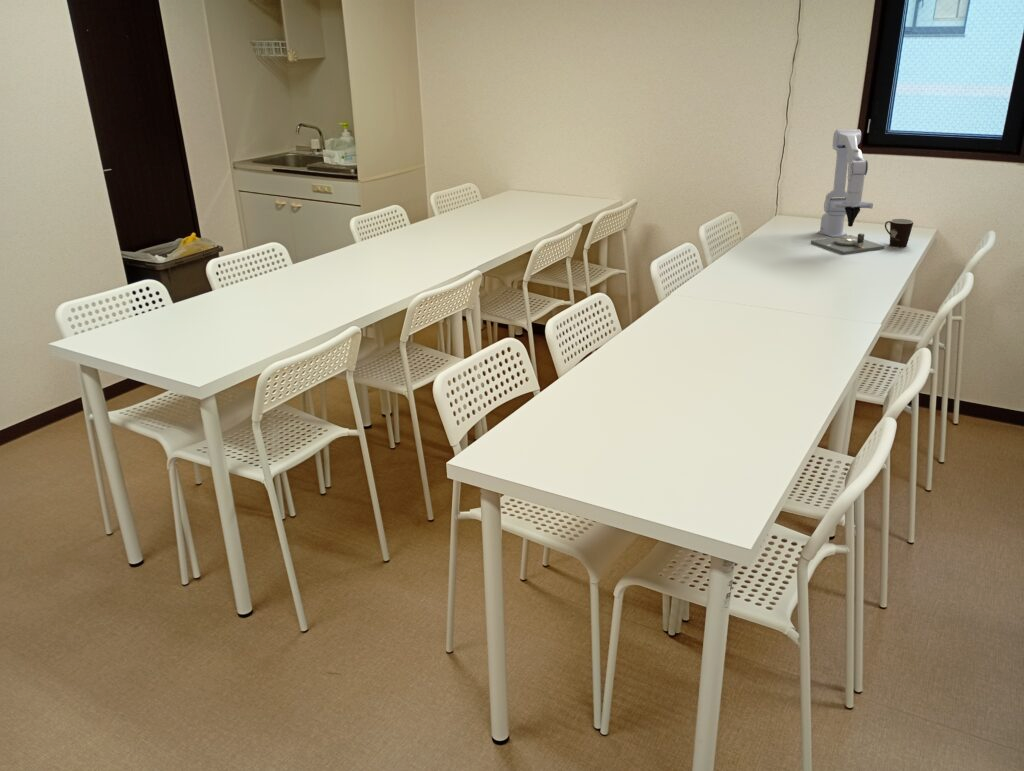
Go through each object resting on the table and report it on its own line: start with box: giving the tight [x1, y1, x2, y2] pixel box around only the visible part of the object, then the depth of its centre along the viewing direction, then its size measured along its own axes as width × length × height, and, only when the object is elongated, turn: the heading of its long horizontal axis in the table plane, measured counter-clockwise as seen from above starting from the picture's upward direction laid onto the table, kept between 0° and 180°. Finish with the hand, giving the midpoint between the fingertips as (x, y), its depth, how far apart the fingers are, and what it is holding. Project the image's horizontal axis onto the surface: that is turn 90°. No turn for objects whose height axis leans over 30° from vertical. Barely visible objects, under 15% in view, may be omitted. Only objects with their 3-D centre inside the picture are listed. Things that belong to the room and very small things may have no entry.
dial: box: [834, 233, 865, 246], centre depth 338 cm, size 13×10×5 cm
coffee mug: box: [884, 218, 915, 248], centre depth 338 cm, size 12×9×10 cm
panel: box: [810, 234, 885, 256], centre depth 340 cm, size 20×20×2 cm
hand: (850, 226), depth 331 cm, fingers closed
